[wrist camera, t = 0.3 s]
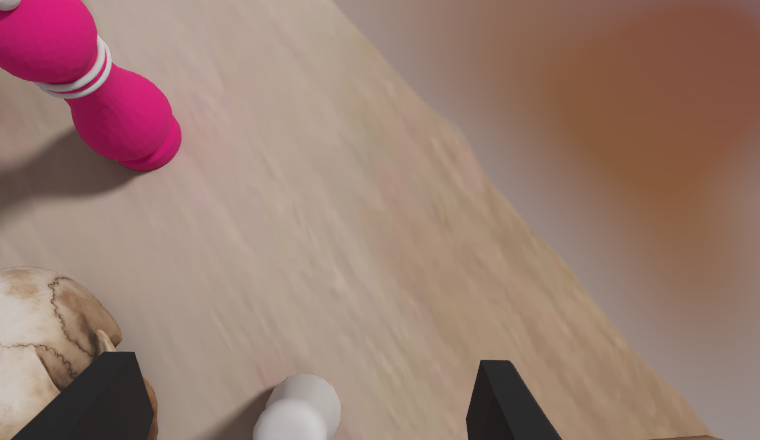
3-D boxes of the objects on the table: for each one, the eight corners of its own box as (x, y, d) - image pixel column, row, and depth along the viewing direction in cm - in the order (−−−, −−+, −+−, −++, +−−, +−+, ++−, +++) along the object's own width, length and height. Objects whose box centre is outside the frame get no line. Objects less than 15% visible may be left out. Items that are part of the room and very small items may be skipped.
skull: (112, 551, 36) (-37, 645, 23) (-61, 433, 38) (-281, 460, 25) (228, 357, 40) (157, 346, 27) (66, 264, 43) (-68, 215, 30)
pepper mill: (102, 109, 44) (-89, -72, 24) (183, 97, 45) (60, -86, 25) (108, 182, 42) (-92, 52, 23) (191, 169, 43) (67, 32, 24)
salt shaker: (320, 459, 38) (309, 519, 26) (256, 427, 38) (214, 471, 26) (352, 389, 40) (357, 414, 27) (291, 359, 40) (266, 369, 27)
